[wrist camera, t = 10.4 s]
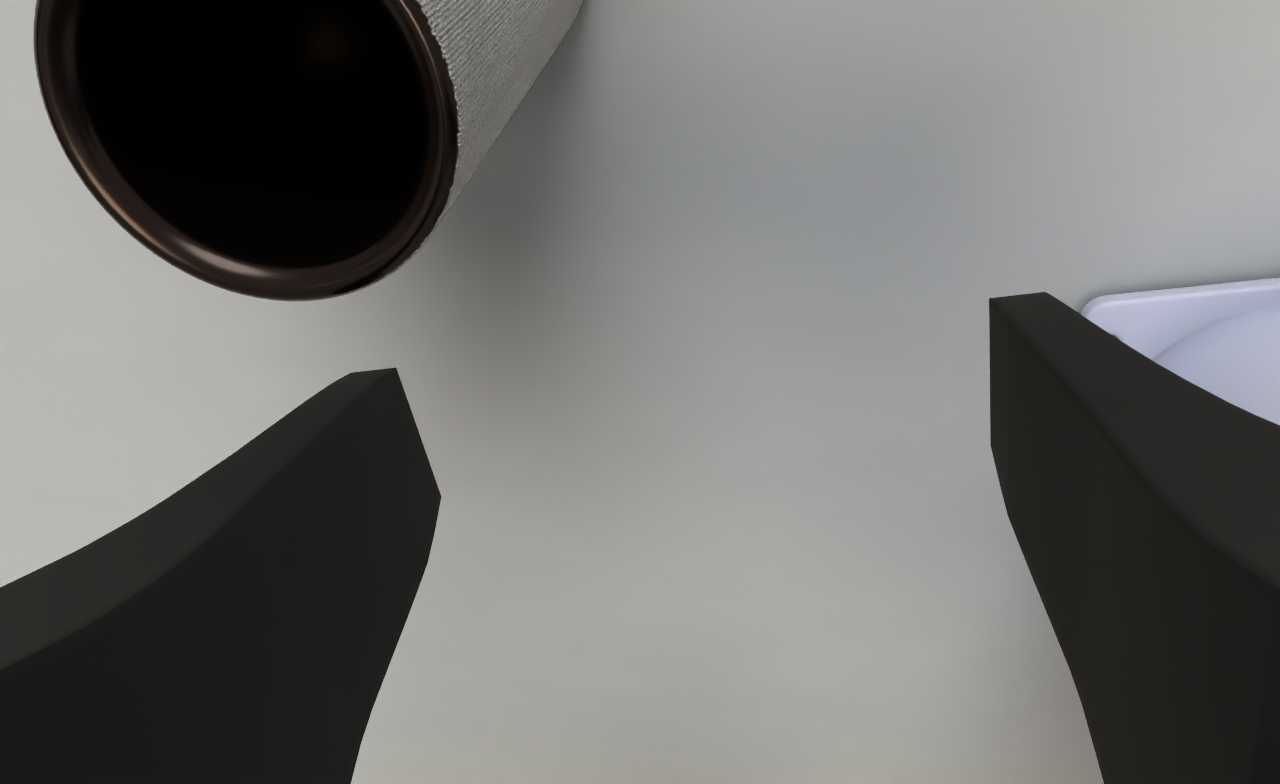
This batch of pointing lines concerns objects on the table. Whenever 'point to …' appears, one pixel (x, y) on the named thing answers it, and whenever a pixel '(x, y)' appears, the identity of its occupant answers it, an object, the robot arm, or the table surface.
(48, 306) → the table surface
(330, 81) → the planter
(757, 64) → the table surface
